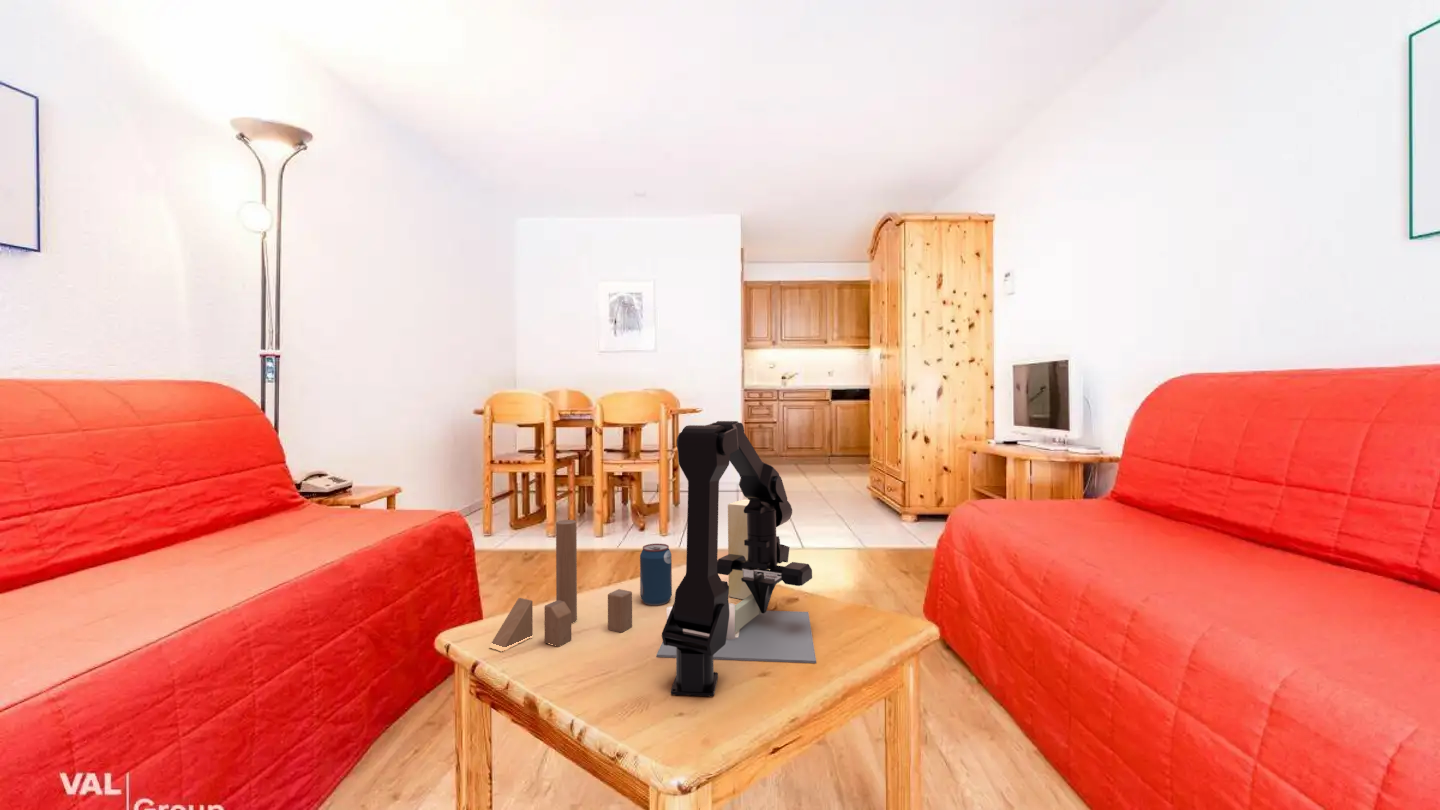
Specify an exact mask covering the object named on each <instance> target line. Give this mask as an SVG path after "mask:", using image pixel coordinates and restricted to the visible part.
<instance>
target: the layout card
mask: <svg viewBox="0 0 1440 810" xmlns="http://www.w3.org/2000/svg"><path fill="white" fill-rule="evenodd" d="M735 605H736V604H735V603H731V602H729V622H728V630H727V637H726V644H725V645H724V646H723V647H722V648H721V649H719V650H718V651H717V652H716V653H715V654H714V655H713V660H720V661H721V660H722V661H724V660H725V661H747V662H748V661H749V662H752V661H753V662H773V663H774V662H775V663H776V662H777V663H800V664H817V657H816V651H815V645H814V639H813V633H812V627H811V621H810V620H811V619H810V613H809V611H793V610H792V611H790V610H788V611H787V610H786V611H785V610H767V611H766V612H765V613H764V614H763V613H760V614H758V615H757V616H756V617H754V618H753V619H752V620H751V621H749V622H748V623H747V624H746V625H744V626H743V627H742V628H741V629H739V630H738V631H737V632H735ZM672 607H673V605H672V606H671V605H669V606H667V607H666V620H667V619H668V617H669V614H670V612H671V609H672ZM683 631H684V632H689V633H694V634H699V635H704V636H709V635H710V634H707V633H702V632H697V631H692V630H687V629H683ZM655 656H656V658H668V659H669V658H670V659H671V658H674V659H676V647H673V646H669V645H668V646H666V645H664V644H663V641H662V643H660V647H659V649H658V651H657V653H656V655H655Z"/></svg>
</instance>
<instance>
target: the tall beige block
mask: <svg viewBox="0 0 1440 810" xmlns="http://www.w3.org/2000/svg"><path fill="white" fill-rule="evenodd" d="M749 501H750V500H748V499H740V500H736V501H734V502H731V503H728V504H727V551H728V554H735V555H742V556H744V557H745V559H746V560H748V546H746V545H744V540H746V539H747V513H744V508H745V507H746V506H747V505H748V503H749ZM728 554H727V555H728ZM767 570H770V569H767ZM741 578H743V571H741V570H734V569H732V572H731V573H730V574H729V575H728V586H729V594H728V598H729V597H730V598H734V599H739V600H743V599H745V598H746V597H748V596H749V595H751V594H752V593H751V591H750V590H749V588H748V586H747V585H746V583H745V582H742V581H741Z"/></svg>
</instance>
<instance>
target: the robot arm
mask: <svg viewBox="0 0 1440 810" xmlns="http://www.w3.org/2000/svg"><path fill="white" fill-rule="evenodd" d="M676 448H677V459H678V460H677V461H678V465H679V467H680V469H681V471H682V472H683V474H684V476H685V478H686V480H687V510H686V511H687V513H686V514H687V517H686V518H687V521H686V556H685V557H686V562H685V563H686V564H685V568H686V569H685V575H684V576H683V578H682V580H681V581H680V582H679V585H678V586H677V588H676V590H675V593H674V601H673V604H672V606H673V607H672V609H671V612H670V614H669V617H668V619H667V618H666V621H665V625H664V627H663V629H662V632H661V639H662V642H663V644H664V645H666V646H668V645H669V646H673V647H676V658H675V664H676V665H675V666H676V667H675V671H676V673H675V674H676V675H675V677H674V680H673V682H672V686H671V688H670V695H676V696H679V695H680V696H696V697H697V696H699V697H700V696H701V697H714V695H715V692H716V689H717V685H718V684H717V682H718V679H719V672H716V671H714V659H713V655H714V654H715V653H716V652H717V651H718V650H719V649H721V648H722V647H723V646H724V645H725V644H726V637H727V630H728V622H729V603H730V602H729V582H727V581H724V580H722V579H721V577H720V576H719V575H724V576H729V574H730V573H731V572H732V569H734V570H741V571H743V578H741V581H742V582H745V583H746V585H747V586H748V588H749V590H750V591H751V593H752V595H753V597H754V599H755V601H756V603H757V605H758V607H759V609H760V611H761V613H763V614H764V613H765V612H766V611H768V610H767V609H768V607H769V604H770V600H771V598H772V594H773V591H774V590H775V587H776V585H777V584H779V583H780V582H782V583H784V584H785V585H789V586H790V585H791V586H795V587H796V586H797V587H802V586H804V585H805V584H806V583H808V582H809V581H811V580H812V579H813V569H812V567H811V566H810V564H809V563H804V562H803V563H802V562H796V561H795V562H794V561H792V562H790V563H789V555H790V546H787V545H785V544H781V539H780V536H777V528H778V527H780V526H781V525H784V524H785V523H787V522H789V521H790V519H791V518H792V515H793V508H792V505H791V503H790V502H789V501H788V497H787V493H786V489H785V486H784V483H783V480H782V477H781V476H780V474H779V472H778V471H777V469H775V467H774V466H773V465H771V464H768V463H766V462H764V461H762V459H761V457H760V456H759V454H758V452H756V450H755V448H754V446H753V445H752V443H751V442H750V440H749V438H748V436H747V435H746V433H745V427H744V425H743V423H742V422H739V421H738V420H733V421H732V420H718V421H716V422H712V423H710V424H705V425H704V424H702V425H701V424H699V425H695V424H693V425H691V424H690V425H689V424H688V425H685V426H684V427H683V428H682V430H681V432H679V433H678V436H677V439H676ZM730 463H731V465H732V466H733V468H734V469H735V471H736V472H737V474H738V475H739V477H740V479H739V483H738V486H739V489H740V490H741V492H742V495H743V496H744V498H746V499H747V500H750V501H749V503H748V505H747V506H746V507H745V508H744V513H747V539H746V540H744V545H746V546H748V560H746V559H745V557H744V556H742V555H735V554H726V555H724V556H722V557H719V558H718V550H719V549H718V547H719V544H718V541H719V540H718V539H719V497H720V495H719V494H720V493H719V490H720V480H721V478H722V476H723V475H724V474H725V472H726V470H727V469H728V467H729V466H730ZM782 563H788V564H787V565H785V566H784V565H778V564H782ZM767 569H769V570H767ZM683 629H687V630H692V631H697V632H702V633H707V634H710V635H709V636H704V635H699V634H694V633H689V632H684V631H683Z"/></svg>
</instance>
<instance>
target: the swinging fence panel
mask: <svg viewBox="0 0 1440 810" xmlns="http://www.w3.org/2000/svg"><path fill="white" fill-rule="evenodd" d="M760 613H761V611H760V609H759V607H758V605H757V603H756V601H755V599H754V597H753V595H752V594H751V595H749V596H748V597H746V598H745V599H741V601H739V602H738V603H736V604H735V632H737V631H738V630H739V629H741V628H742V627H743V626H744V625H746V624H747V623H748V622H749V621H751V620H752V619H753V618H754V617H756V616H757V615H758V614H760Z"/></svg>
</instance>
